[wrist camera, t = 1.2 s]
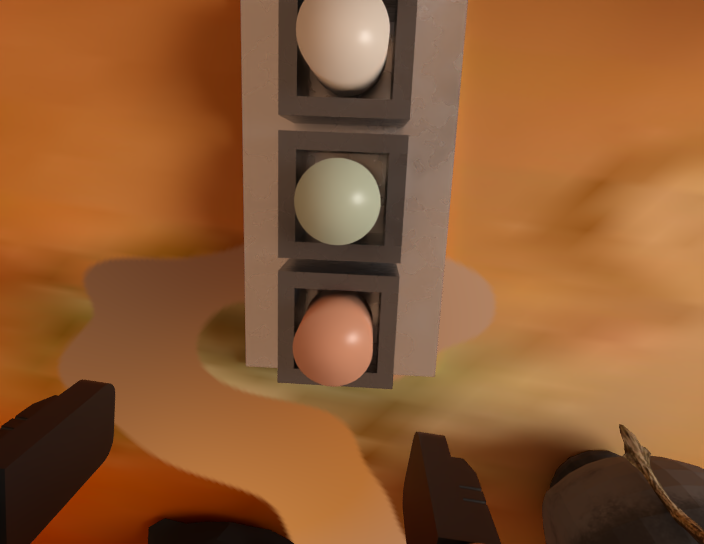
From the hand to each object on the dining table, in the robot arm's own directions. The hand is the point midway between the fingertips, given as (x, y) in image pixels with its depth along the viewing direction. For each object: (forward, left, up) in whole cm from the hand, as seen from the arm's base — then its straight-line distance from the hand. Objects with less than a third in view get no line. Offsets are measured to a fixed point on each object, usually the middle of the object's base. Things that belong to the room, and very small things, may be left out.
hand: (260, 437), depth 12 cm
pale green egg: (-1, -5, -18) cm, 19 cm away
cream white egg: (-1, -13, -18) cm, 22 cm away
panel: (-1, -5, -22) cm, 22 cm away
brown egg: (-1, +3, -18) cm, 18 cm away
